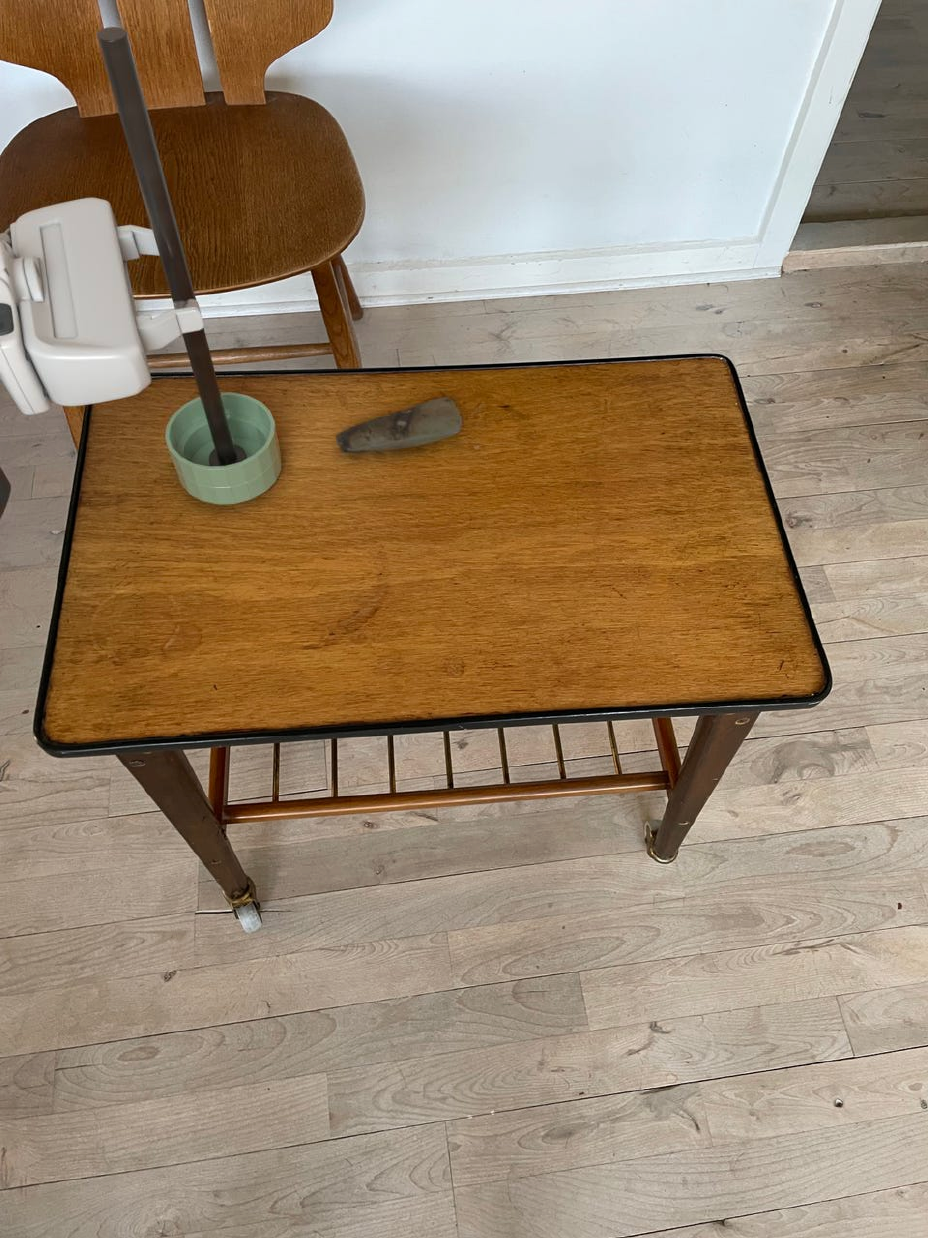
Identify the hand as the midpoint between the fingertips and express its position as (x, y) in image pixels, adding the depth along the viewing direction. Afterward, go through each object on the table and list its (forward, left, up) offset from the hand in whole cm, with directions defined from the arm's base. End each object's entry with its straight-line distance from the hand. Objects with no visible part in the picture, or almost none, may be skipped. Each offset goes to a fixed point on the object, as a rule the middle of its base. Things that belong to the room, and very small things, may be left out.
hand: (191, 276), depth 66 cm
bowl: (-1, -1, -22) cm, 22 cm away
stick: (-1, -1, -21) cm, 21 cm away
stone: (+11, +13, -22) cm, 27 cm away
